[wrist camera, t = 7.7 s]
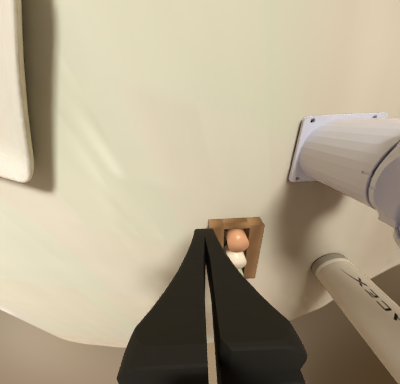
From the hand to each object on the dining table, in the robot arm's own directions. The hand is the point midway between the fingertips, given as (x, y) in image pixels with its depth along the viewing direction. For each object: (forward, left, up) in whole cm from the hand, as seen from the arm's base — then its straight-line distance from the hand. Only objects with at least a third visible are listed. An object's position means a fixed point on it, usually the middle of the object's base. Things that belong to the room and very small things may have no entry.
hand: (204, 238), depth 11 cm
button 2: (-5, +8, -9) cm, 13 cm away
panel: (-5, +12, -10) cm, 17 cm away
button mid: (-5, +12, -9) cm, 16 cm away
